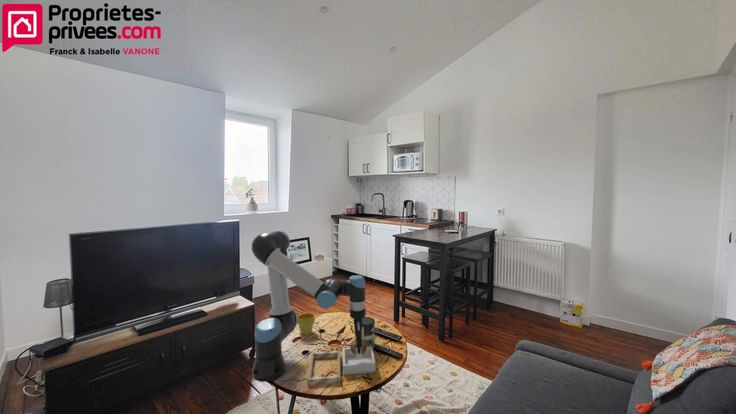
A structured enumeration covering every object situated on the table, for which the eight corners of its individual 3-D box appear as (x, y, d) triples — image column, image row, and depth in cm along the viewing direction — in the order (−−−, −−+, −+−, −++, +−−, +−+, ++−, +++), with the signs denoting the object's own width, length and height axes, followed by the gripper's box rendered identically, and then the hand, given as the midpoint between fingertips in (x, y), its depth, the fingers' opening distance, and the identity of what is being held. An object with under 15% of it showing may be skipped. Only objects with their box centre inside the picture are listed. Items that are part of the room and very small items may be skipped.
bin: (343, 375, 136) (343, 365, 136) (342, 356, 151) (342, 348, 151) (375, 372, 138) (375, 363, 137) (372, 354, 153) (371, 346, 152)
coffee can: (376, 341, 166) (376, 317, 165) (373, 351, 156) (372, 325, 155) (358, 339, 168) (358, 315, 167) (354, 349, 158) (353, 323, 157)
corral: (307, 385, 130) (307, 379, 130) (311, 357, 151) (311, 352, 151) (340, 382, 131) (340, 377, 131) (340, 355, 152) (340, 350, 152)
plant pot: (306, 326, 185) (306, 311, 184) (318, 331, 179) (318, 315, 178) (293, 333, 176) (293, 317, 176) (305, 338, 170) (305, 321, 170)
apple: (347, 357, 142) (347, 340, 142) (354, 348, 149) (354, 333, 149) (362, 360, 139) (362, 344, 138) (369, 351, 146) (369, 336, 146)
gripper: (367, 317, 133) (368, 366, 134) (363, 299, 153) (364, 342, 155) (350, 318, 132) (351, 367, 133) (349, 300, 153) (350, 343, 154)
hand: (358, 353), depth 144 cm, fingers closed on apple, 8 cm apart
